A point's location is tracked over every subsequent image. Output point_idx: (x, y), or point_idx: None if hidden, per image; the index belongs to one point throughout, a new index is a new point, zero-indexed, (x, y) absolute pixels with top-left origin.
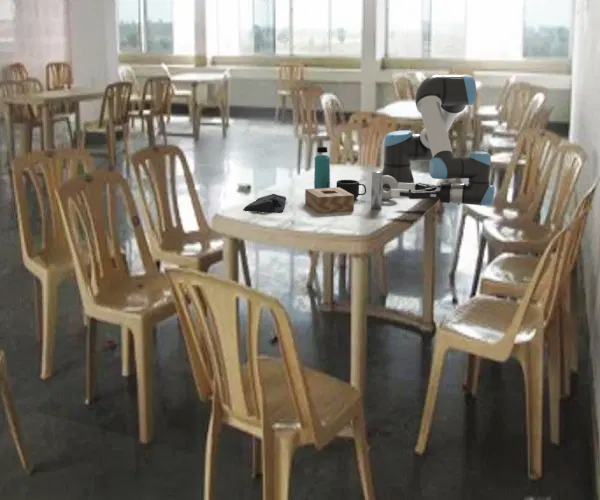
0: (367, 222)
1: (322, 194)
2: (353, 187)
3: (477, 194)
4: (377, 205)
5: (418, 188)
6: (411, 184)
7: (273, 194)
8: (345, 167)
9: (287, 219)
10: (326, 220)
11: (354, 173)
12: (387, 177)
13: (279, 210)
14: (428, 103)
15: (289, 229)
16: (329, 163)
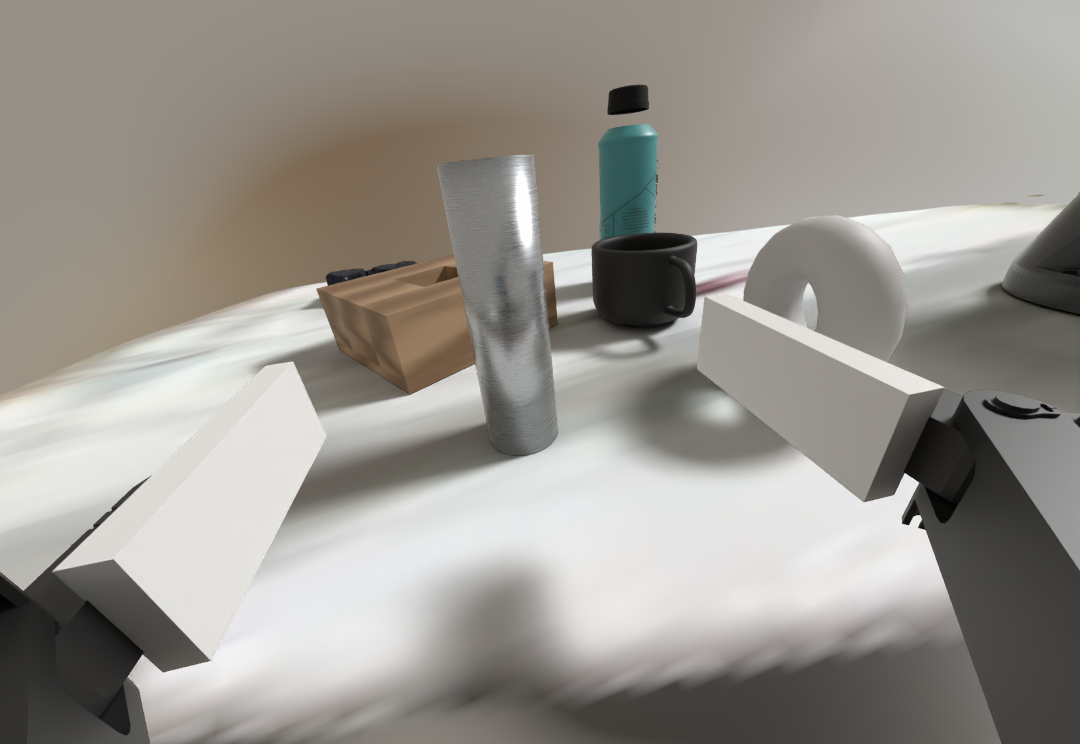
0: (18, 557)
1: (378, 280)
2: (620, 272)
3: None
4: (489, 425)
5: (956, 522)
6: (838, 375)
7: None
8: (1012, 211)
9: (229, 342)
10: (180, 401)
11: (998, 228)
12: (814, 234)
13: None
14: None
15: (35, 388)
16: (639, 160)
